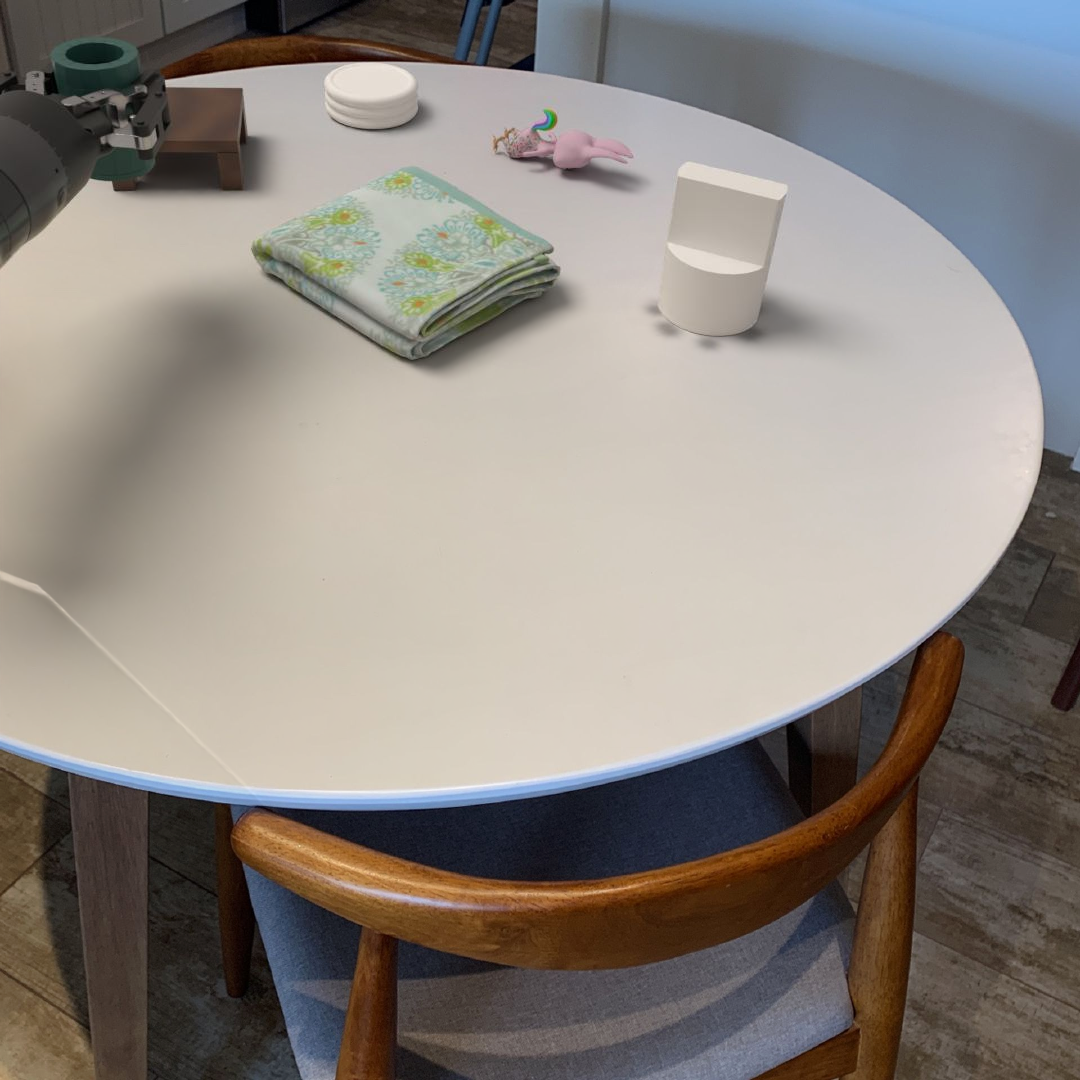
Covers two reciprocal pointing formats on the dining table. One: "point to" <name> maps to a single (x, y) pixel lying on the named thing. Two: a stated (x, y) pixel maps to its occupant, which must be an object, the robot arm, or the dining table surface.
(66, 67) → the jar
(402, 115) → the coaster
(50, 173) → the robot arm
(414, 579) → the dining table surface
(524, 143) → the rabbit figure
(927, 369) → the dining table surface
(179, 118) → the stand
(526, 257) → the towel
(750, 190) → the base with upright slab
